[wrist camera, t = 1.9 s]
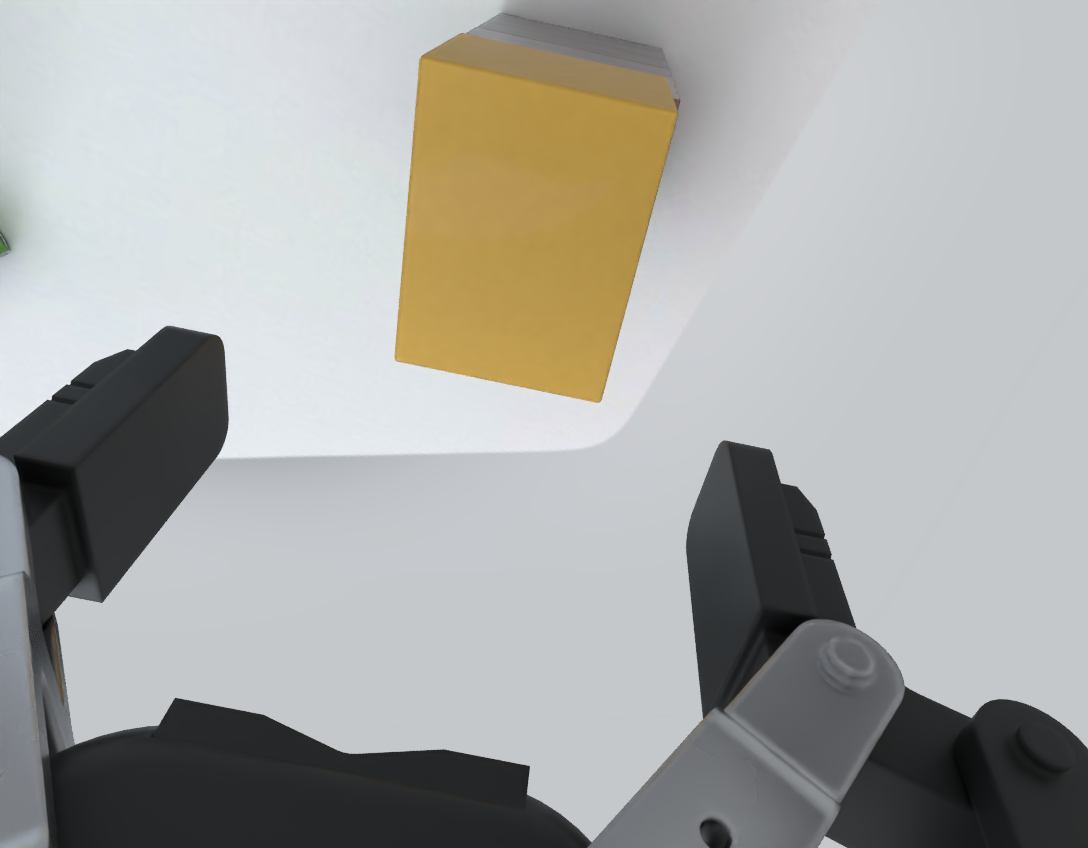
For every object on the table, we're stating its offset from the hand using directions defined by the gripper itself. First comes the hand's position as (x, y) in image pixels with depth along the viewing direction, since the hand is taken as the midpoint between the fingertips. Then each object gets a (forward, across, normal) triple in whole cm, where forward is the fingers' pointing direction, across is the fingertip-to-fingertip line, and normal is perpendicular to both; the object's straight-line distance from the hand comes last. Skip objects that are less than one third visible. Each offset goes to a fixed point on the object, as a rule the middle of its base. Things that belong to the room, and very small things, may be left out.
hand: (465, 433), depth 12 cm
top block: (+13, 0, 0) cm, 13 cm away
